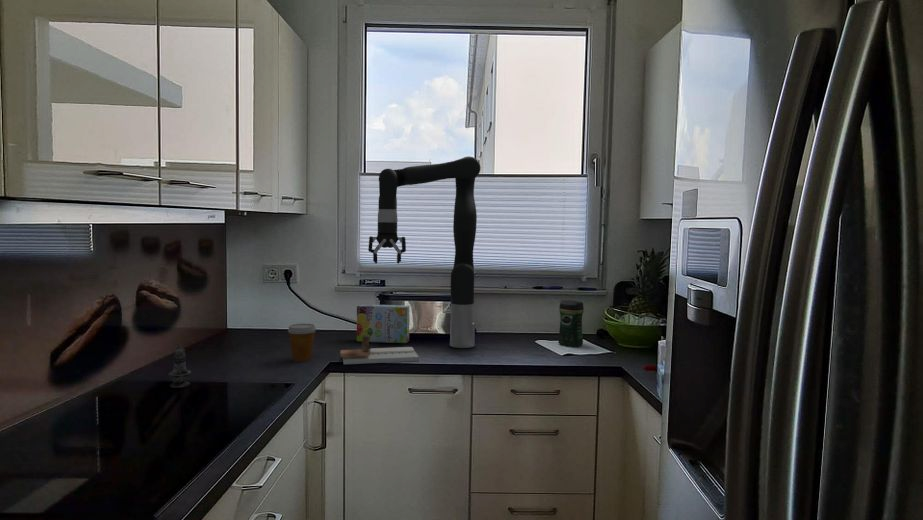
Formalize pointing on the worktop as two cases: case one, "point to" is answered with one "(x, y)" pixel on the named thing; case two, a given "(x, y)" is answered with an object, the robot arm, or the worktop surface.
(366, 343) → the stub
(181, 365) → the dark grey tiered piece
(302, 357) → the disposable coffee cup
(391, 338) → the snack box
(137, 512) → the worktop surface
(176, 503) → the worktop surface
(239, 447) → the worktop surface
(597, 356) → the worktop surface
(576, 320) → the coffee jar
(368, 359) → the board
